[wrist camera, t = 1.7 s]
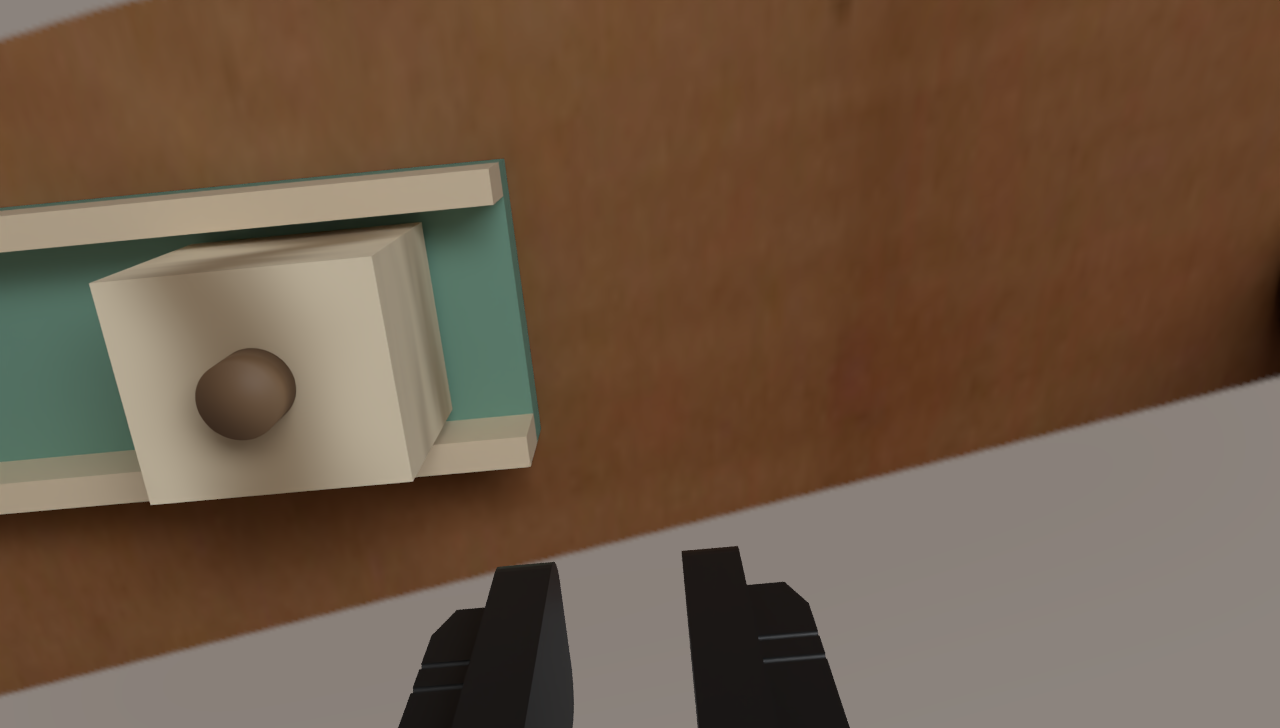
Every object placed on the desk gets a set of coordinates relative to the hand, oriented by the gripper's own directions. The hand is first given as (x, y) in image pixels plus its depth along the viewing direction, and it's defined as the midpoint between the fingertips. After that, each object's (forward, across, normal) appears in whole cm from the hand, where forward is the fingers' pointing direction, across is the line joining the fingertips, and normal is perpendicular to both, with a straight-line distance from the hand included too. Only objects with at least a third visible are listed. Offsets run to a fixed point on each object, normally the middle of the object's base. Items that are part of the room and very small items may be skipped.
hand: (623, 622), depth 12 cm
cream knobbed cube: (+18, +9, 0) cm, 20 cm away
